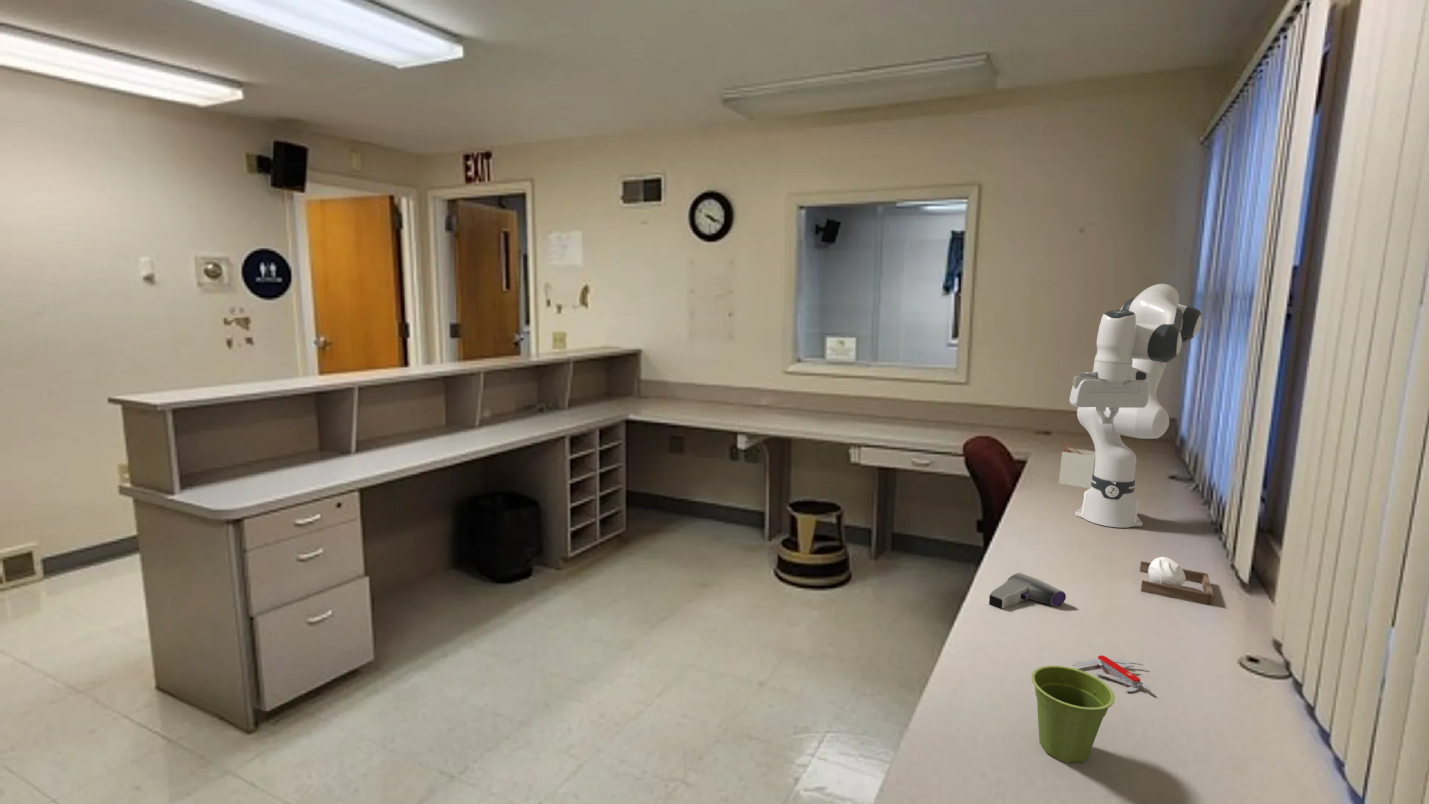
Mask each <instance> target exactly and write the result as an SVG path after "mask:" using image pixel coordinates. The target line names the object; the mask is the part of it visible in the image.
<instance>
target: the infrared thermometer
mask: <svg viewBox="0 0 1429 804" xmlns="http://www.w3.org/2000/svg"><path fill="white" fill-rule="evenodd" d="M1066 599H1067V595H1066V593H1065V591H1063V590H1061V589H1058V588H1057V587H1056V586H1053V585H1051V584H1049V583H1047V582H1045V581H1043V580H1040V579H1038V578H1037V577H1032V576H1030V575H1027V574H1025V573H1022V572H1016V573H1015V574H1013V575H1011V576H1010V577H1009V578H1008V579H1007V580H1006V581H1005V582H1004V583H1002V584H1001V585H999V586H998V587H996V588H995V589H994V590H992V591H991V592H990V594H989V599H988V600H989V601H988V605H989V606H992V607H994V608H996V609H999V610H1003V609H1004V608H1007V607H1011V606H1013V605H1016V604H1018V603H1020V602H1023V601H1027V600H1032V601H1036V602H1039V603H1043V604H1046V605H1049V606H1054V607H1058V606H1061V605H1062V604H1064V603H1065V600H1066Z"/></svg>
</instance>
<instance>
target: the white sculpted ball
mask: <svg viewBox="0 0 1429 804" xmlns="http://www.w3.org/2000/svg"><path fill="white" fill-rule="evenodd" d="M1150 563H1151V564H1150V566H1149V569H1148V573H1147V574H1148V577H1149V580H1150V582H1154V583H1159V584H1164V585H1169V586H1174V587H1179V588H1182V587H1181V586H1183V584H1184V583H1185V581H1186V580H1185V579H1186V577H1185V574H1184V572H1183V570H1182V569H1183V568H1182V567H1181V566H1180V564H1179V563H1177V561H1174V560H1173V559H1171V558H1169V557H1167V556H1160V557H1157V558H1154V559H1153V560H1152V561H1151V562H1150Z"/></svg>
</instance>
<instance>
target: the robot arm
mask: <svg viewBox="0 0 1429 804" xmlns="http://www.w3.org/2000/svg"><path fill="white" fill-rule="evenodd" d="M1179 302H1180V295H1179V293H1178V291H1177V289H1176V288H1175V287H1173V286H1171V285H1170V284H1166V283H1157V284H1154V285H1152V286H1149V287H1147V288H1145V289H1144V290H1142V291H1141V292H1140V293H1139V294H1138V295H1137V296H1136V297H1131V298H1129V299H1128V300H1126V301H1125V302H1124V304H1123V305H1122V306H1121V308H1120V309H1116V310H1115V309H1114V310H1109V311H1105V312H1104V313H1103V314H1102V316H1101V319H1100V322H1099V325H1098V326H1099V327H1098V330H1097V331H1098V332H1097V337H1096V348H1097V349H1096V354H1095V357H1094V361H1093V369H1092V371H1090V372H1089V371H1088V372H1086V371H1080V372H1079V373H1077V374H1076V375H1075V376H1074V377H1073V379H1072V381H1073V382H1072V388H1071V392H1070V394H1069V403H1070V405H1071V406H1073V407H1076V408H1077V410H1076V416H1077V420H1078V422H1079V423H1080V425H1081V426H1082V427H1083V428H1084V429H1085V430H1086V431H1087V432H1088V435H1090V437H1091V440H1092V442H1093V445H1094V452H1095V469H1094V474H1093V475H1092V478H1091V488H1087V490H1086V491H1084V492H1083V501H1082V505H1081V507H1080V508H1079V509H1077V510H1076V511H1075V513H1074V515H1075V516H1076V517H1079V518H1082V519H1084V520H1086V521H1089V522H1091V523H1093V524H1096V525H1099V526H1100V525H1101V526H1105V527H1110V528H1120V529H1121V528H1122V529H1123V528H1131V527H1132V528H1133V527H1143V525H1144V524H1143V523H1144V522H1143V521H1141V519H1140V518H1139V516H1138V506H1139V499H1138V498H1137V497H1136V495H1135V493H1134V492H1135V488H1136V480H1135V474H1136V466H1137V455H1136V454H1135V452H1134V451H1133V450H1132V449H1131V448H1130V447H1128V446H1127V445H1126V444H1125V443H1124V442H1123V440H1122V437H1121V436H1125V437H1129V438H1136V439H1147V440H1148V439H1151V440H1152V439H1159V438H1160V437H1162V436H1163V435H1164V434H1165V433H1166V431H1167V430H1168V428H1169V425H1170V417H1169V414H1168V411H1167V410H1166V409H1165V408H1164V407H1163V406H1162V405H1161V403H1160V402H1159V400H1158V398H1157V391H1158V387H1159V383H1160V382H1161V381H1160V380H1161V379H1162V376H1163V374H1164V372H1165V369H1166V367H1167V363H1168V362H1171V361H1172V360H1174V359H1176V357H1178V356H1179V355H1178V354H1180V351H1181V348H1182V344H1184V343H1186V342H1188V341H1190V340H1192V339H1193V338H1195V336H1196V335H1197V333H1199V331H1200V329H1201V328H1202V324H1203V320H1202V319H1203V318H1202V312H1201V311H1200V309H1198V308H1196V307H1193V306H1191V305H1187V306H1186V305H1184V304H1180V303H1179Z"/></svg>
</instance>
